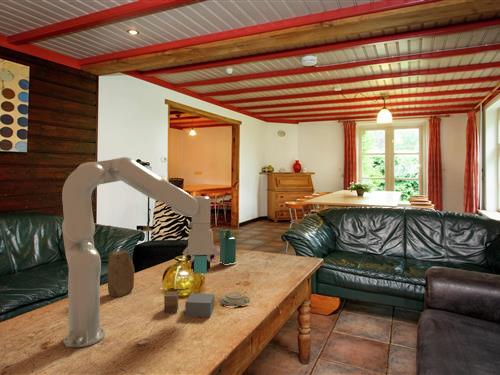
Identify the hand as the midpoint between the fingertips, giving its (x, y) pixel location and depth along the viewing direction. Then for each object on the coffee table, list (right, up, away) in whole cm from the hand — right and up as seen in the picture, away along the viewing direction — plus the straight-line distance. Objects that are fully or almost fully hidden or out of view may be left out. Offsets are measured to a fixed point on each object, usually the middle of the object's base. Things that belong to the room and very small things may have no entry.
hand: (200, 270), depth 135 cm
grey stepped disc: (+14, -18, +12) cm, 25 cm away
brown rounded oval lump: (-40, -16, +20) cm, 48 cm away
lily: (-5, -15, +83) cm, 85 cm away
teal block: (0, -1, 0) cm, 1 cm away
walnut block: (-12, -17, +1) cm, 21 cm away
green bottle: (+6, -15, +75) cm, 76 cm away
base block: (0, -18, +1) cm, 18 cm away
